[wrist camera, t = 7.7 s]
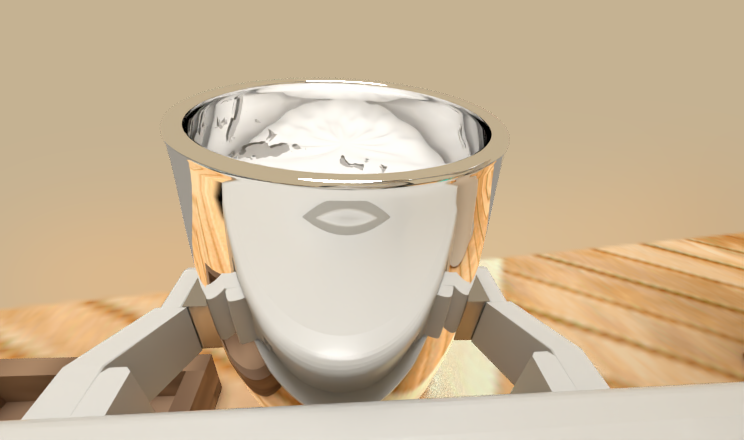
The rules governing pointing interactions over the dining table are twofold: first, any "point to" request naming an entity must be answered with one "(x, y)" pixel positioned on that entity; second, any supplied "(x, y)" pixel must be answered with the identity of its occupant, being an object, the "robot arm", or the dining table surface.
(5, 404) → the walnut tray
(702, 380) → the dining table surface
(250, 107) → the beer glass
